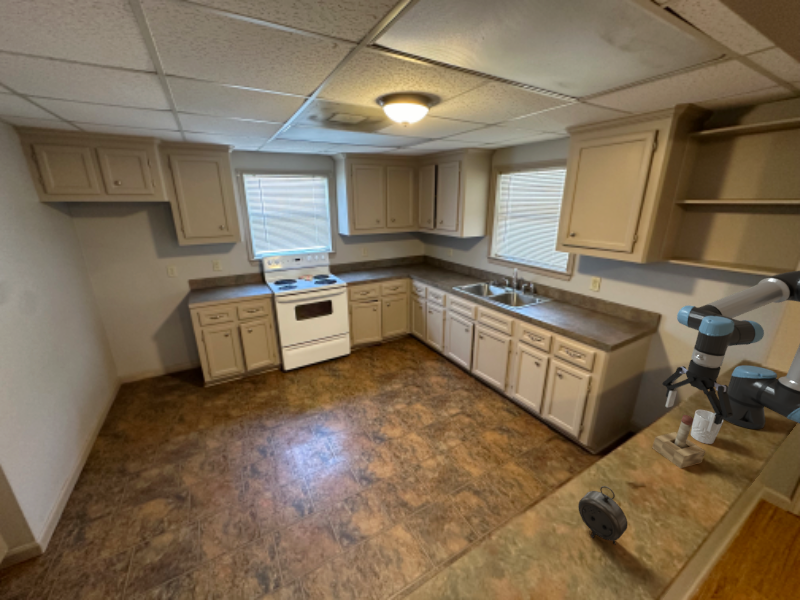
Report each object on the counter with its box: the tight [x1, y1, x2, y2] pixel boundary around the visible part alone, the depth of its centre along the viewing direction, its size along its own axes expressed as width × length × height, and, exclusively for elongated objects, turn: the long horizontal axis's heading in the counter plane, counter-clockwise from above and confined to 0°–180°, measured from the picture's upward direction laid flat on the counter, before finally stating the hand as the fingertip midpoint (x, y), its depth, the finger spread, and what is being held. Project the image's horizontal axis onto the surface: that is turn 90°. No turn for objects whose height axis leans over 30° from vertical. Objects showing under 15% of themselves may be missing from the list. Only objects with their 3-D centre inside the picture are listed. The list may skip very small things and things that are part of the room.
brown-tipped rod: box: [674, 414, 694, 449], centre depth 117 cm, size 3×3×16 cm
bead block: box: [652, 431, 706, 469], centre depth 119 cm, size 10×10×5 cm
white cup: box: [690, 409, 724, 445], centre depth 127 cm, size 8×8×10 cm
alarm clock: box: [577, 485, 628, 546], centre depth 89 cm, size 11×5×16 cm, turn 34°
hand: (689, 417), depth 115 cm, fingers open, 13 cm apart
